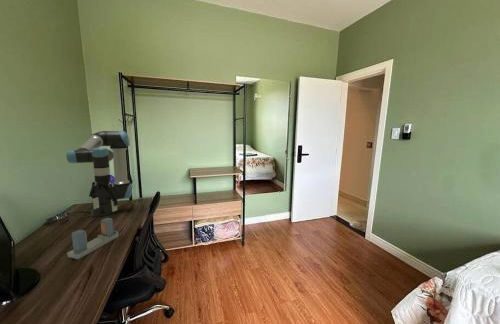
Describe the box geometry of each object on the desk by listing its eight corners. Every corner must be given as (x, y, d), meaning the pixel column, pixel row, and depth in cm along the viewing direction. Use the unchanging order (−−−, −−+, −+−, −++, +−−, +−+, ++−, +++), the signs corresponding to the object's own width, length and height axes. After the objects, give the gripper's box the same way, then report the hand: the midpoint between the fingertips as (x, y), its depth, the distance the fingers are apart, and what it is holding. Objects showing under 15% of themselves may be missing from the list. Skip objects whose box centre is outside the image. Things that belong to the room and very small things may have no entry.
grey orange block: (108, 233, 127) (107, 217, 125) (113, 233, 126) (112, 218, 124) (101, 236, 122) (99, 220, 121) (106, 237, 121) (105, 221, 120)
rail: (109, 234, 129) (108, 216, 127) (118, 236, 127) (117, 217, 126) (67, 257, 106) (64, 234, 104) (78, 259, 104) (75, 236, 103)
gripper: (125, 174, 119) (128, 209, 123) (92, 171, 125) (95, 205, 129) (114, 177, 112) (117, 214, 115) (79, 174, 118) (83, 209, 121)
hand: (105, 209), depth 122 cm, fingers open, 13 cm apart
